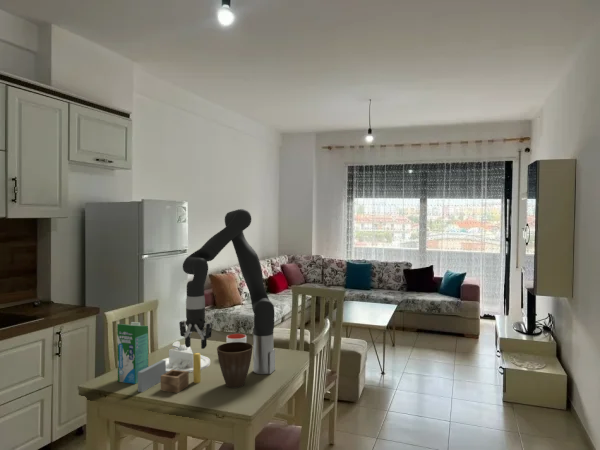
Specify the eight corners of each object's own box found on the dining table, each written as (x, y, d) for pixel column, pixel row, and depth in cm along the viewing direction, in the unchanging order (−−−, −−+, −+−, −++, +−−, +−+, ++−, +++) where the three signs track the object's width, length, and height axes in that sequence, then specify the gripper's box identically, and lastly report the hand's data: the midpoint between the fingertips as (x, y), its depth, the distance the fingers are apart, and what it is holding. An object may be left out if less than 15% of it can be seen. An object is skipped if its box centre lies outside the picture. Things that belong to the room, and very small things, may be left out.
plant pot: (238, 394, 179) (238, 354, 179) (209, 387, 187) (209, 349, 186) (259, 382, 193) (259, 344, 192) (231, 376, 200) (231, 340, 199)
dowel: (201, 380, 194) (201, 353, 194) (198, 383, 191) (198, 355, 191) (195, 380, 195) (195, 352, 195) (192, 382, 192) (191, 354, 192)
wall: (165, 378, 197) (165, 360, 197) (142, 392, 182) (141, 372, 181) (161, 378, 197) (161, 360, 197) (137, 391, 182) (137, 372, 182)
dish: (148, 364, 217) (147, 341, 216) (194, 354, 233) (194, 332, 233) (171, 378, 198) (170, 352, 198) (220, 365, 215) (219, 342, 215)
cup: (244, 358, 224) (244, 338, 224) (224, 358, 224) (224, 338, 224) (247, 352, 234) (247, 333, 234) (228, 352, 234) (228, 333, 234)
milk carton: (148, 377, 199) (148, 320, 198) (134, 384, 190) (134, 325, 190) (131, 374, 202) (131, 319, 201) (117, 381, 193) (117, 323, 193)
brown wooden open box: (188, 385, 189) (188, 371, 188) (177, 392, 181) (177, 377, 181) (172, 383, 191) (172, 369, 191) (160, 390, 183) (160, 375, 183)
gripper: (215, 306, 184) (216, 346, 184) (185, 303, 188) (185, 343, 188) (206, 309, 176) (206, 351, 177) (174, 307, 181) (175, 348, 181)
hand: (195, 347), depth 183 cm, fingers open, 6 cm apart
